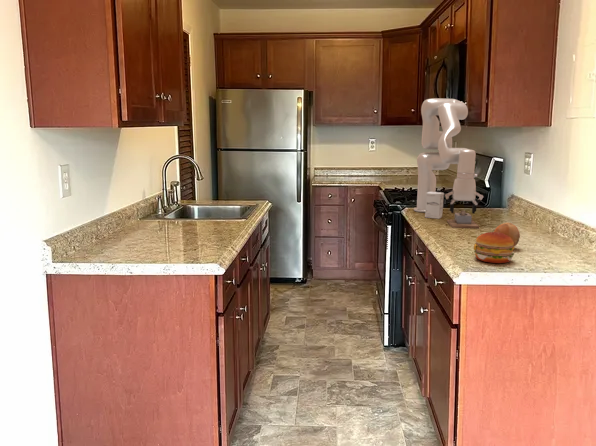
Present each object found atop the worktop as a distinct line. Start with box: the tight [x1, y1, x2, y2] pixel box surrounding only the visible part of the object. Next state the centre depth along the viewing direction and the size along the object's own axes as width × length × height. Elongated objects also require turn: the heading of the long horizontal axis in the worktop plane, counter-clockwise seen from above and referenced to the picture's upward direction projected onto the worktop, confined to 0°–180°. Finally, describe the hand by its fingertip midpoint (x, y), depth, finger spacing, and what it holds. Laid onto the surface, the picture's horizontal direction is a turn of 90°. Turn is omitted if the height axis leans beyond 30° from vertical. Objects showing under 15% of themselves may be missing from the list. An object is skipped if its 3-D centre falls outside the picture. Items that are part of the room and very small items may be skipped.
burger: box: [473, 231, 515, 264], centre depth 191 cm, size 13×14×10 cm
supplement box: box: [424, 191, 445, 220], centre depth 277 cm, size 7×7×13 cm
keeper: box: [446, 210, 480, 229], centre depth 258 cm, size 16×12×6 cm
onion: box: [493, 222, 521, 247], centre depth 210 cm, size 10×10×10 cm
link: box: [453, 212, 473, 224], centre depth 258 cm, size 8×6×4 cm
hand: (462, 212), depth 258 cm, fingers open, 9 cm apart
